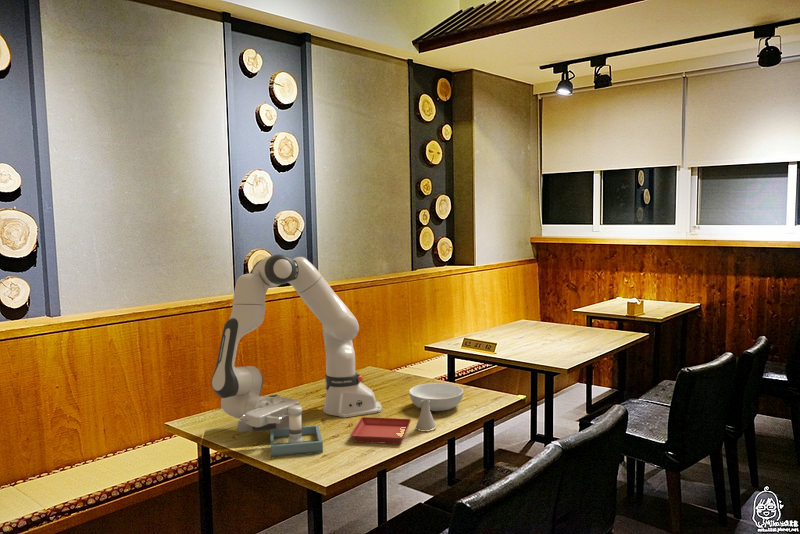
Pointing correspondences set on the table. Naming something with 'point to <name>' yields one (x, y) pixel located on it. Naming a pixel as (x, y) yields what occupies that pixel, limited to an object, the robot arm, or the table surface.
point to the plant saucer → (379, 429)
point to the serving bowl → (437, 395)
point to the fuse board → (246, 428)
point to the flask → (425, 417)
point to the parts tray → (296, 448)
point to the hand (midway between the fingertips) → (290, 416)
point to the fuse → (295, 424)
